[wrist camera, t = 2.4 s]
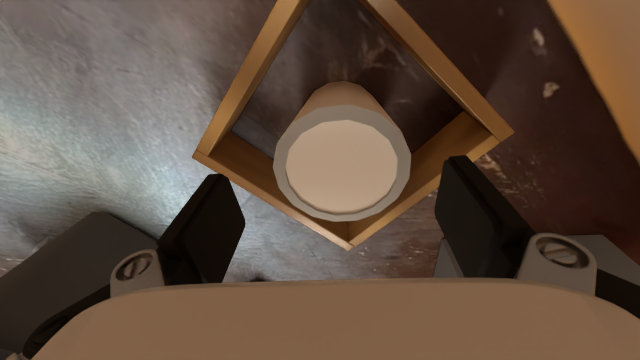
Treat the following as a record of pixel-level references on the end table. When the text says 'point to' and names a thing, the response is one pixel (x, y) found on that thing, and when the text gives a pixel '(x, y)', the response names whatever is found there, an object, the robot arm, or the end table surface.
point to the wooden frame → (426, 163)
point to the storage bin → (63, 275)
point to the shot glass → (342, 155)
